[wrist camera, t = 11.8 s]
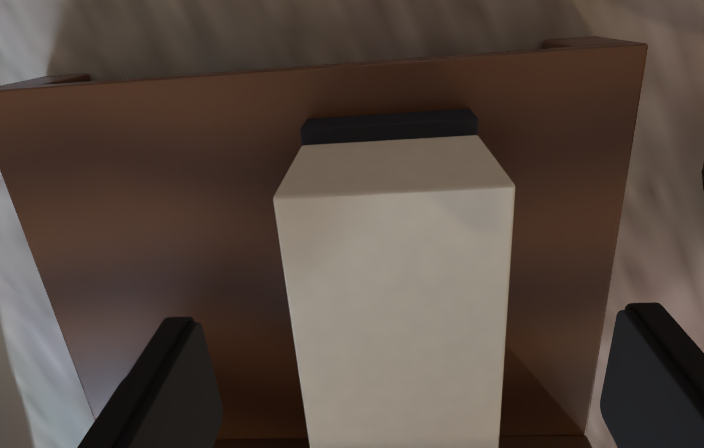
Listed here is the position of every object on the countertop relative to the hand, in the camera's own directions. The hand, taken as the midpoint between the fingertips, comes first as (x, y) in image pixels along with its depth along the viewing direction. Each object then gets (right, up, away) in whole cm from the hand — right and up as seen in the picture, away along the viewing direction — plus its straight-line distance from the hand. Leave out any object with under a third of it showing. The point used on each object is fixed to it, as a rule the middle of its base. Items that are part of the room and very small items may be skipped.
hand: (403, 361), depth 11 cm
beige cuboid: (0, +1, +7) cm, 7 cm away
